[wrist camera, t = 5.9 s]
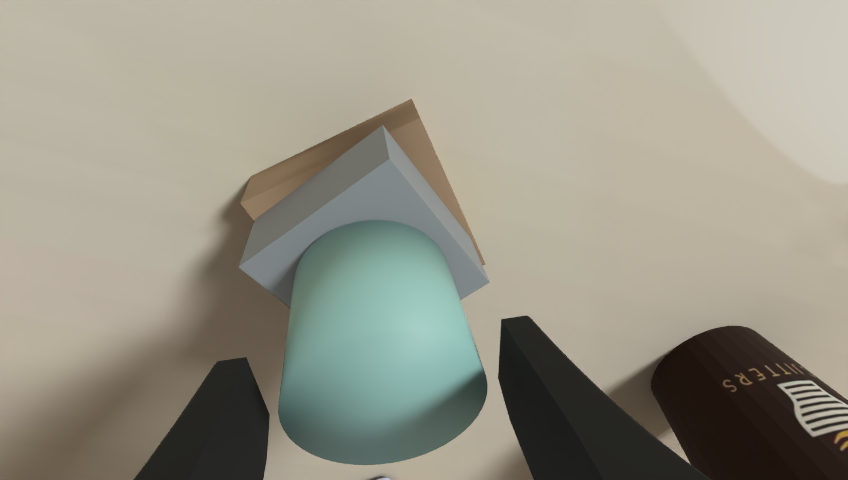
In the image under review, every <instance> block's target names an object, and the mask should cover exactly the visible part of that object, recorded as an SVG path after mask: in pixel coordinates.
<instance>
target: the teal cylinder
mask: <svg viewBox="0 0 848 480" xmlns="http://www.w3.org/2000/svg"><path fill="white" fill-rule="evenodd" d="M486 395H487V380H486V375H485V372H484V369H483V366H482V363H481V360H480V357H479V354H478V351H477V348H476V345H475V343H474V340H473V337H472V334H471V331H470V328H469V325H468V322H467V319H466V316H465V313H464V310H463V307H462V304H461V301H460V298H459V295H458V292H457V289H456V287H455V284H454V281H453V278H452V275H451V272H450V269H449V266H448V263H447V260H446V258H445V255H444V254H443V252H442V250H441V249H440V247H439V246H438V245H437V244H436V243H435V241H433V240H432V239H431V238H430V237H429V236H428V235H426V234H425V233H423V232H421V231H420V230H418V229H416V228H414V227H412V226H409V225H406V224H403V223H399V222H394V221H387V220H366V221H359V222H354V223H351V224H347V225H344V226H341V227H339V228H336V229H334V230H332V231H330V232H328V233H326V234H325V235H324V236H322V237H321V238H319V239H318V240H317V241H316V242H314V243H313V244H312V245H311V246H310V247H309V248H308V250H307V251H306V252H305V253H304V255H303V256H302V258H301V260H300V261H299V264H298V266H297V269H296V272H295V276H294V283H293V292H292V300H291V308H290V316H289V324H288V332H287V340H286V348H285V356H284V364H283V373H282V381H281V389H280V397H279V409H278V413H279V419H280V423H281V425H282V427H283V430H284V431H285V432H286V434H287V435H288V437H289V438H290V439H291V440H292V441H293V442H294V443H295V444H296V445H298V446H299V447H301V448H302V449H303V450H305V451H307V452H309V453H311V454H313V455H315V456H318V457H320V458H323V459H326V460H330V461H334V462H339V463H345V464H354V465H375V464H386V463H393V462H398V461H403V460H407V459H411V458H414V457H417V456H420V455H423V454H426V453H428V452H431V451H433V450H435V449H437V448H439V447H441V446H443V445H445V444H447V443H448V442H450V441H451V440H453V439H454V438H456V437H457V436H458V435H460V434H461V433H462V432H463V431H465V430H466V429H467V428H468V427H469V426H470V425H471V424H472V422H473V421H474V420H475V419H476V417H477V416H478V414H479V413H480V411H481V409H482V407H483V405H484V402H485V400H486Z"/></svg>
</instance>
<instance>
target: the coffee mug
mask: <svg viewBox="0 0 848 480" xmlns="http://www.w3.org/2000/svg"><path fill="white" fill-rule="evenodd" d="M651 388H652V391H653V394H654V396H655V398H656V399H657V401H658V403H659V405H660V407H661V409H662V411H663V413H664V415H665V416H666V418H667V420H668V422H669V424H670V426H671V428H672V430H673V432H674V433H675V435H676V437H677V439H678V441H679V443H680V445H681V447H682V448H683V450H684V452H685V454H686V456H687V458H688V460H689V462H690V464H691V465H692V466H693V467H694V468H696V469H697V470H698V471H700V472H701V473H703V474H704V475H705V476H707V477H708V478H709V479H711V480H848V400H847V399H845V398H844V397H843V396H841V395H840V394H839V393H837V392H836V391H835V390H833V389H832V388H830V387H829V386H828V385H826V384H825V383H824V382H822V381H821V380H820V379H818V378H817V377H816V376H814V375H813V374H812V373H810V372H809V371H808V370H806V369H805V368H804V367H802V366H801V365H800V364H798V363H797V362H796V361H794V360H793V359H792V358H790V357H789V356H788V355H786V354H785V353H784V352H782V351H781V350H780V349H778V348H777V347H776V346H774V345H773V344H772V343H770V342H769V341H768V340H766V339H765V338H764V337H762V336H761V335H760V334H758V333H757V332H756V331H754V330H752V329H750V328H748V327H742V326H726V327H720V328H716V329H712V330H709V331H706V332H704V333H701V334H699V335H697V336H694V337H693V338H691V339H689V340H687V341H685V342H684V343H682V344H681V345H679V346H678V347H677V348H675V349H674V350H673V351H672V352H671V353H669V354H668V355H667V356H666V357H665V358H664V359H663V361H662V362H661V363H660V364H659V365H658V367H657V369H656V371H655V372H654V375H653V378H652V382H651Z"/></svg>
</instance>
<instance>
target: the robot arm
mask: <svg viewBox="0 0 848 480" xmlns="http://www.w3.org/2000/svg"><path fill="white" fill-rule="evenodd" d="M498 379H499V383H500V386H501V390H502V394H503V397H504V401H505V404H506V408H507V411H508V415H509V418H510V421H511V424H512V426H513V429H514V431H515V434H516V436H517V439H518V441H519V444H520V446H521V449H522V451H523V454H524V456H525V459H526V461H527V464H528V466H529V469H530V471H531V473H532V476H533V478H534V480H711V479H709V478H708V477H707V476H705V475H704V474H703V473H701V472H700V471H698V470H697V469H696V468H694V467H693V466H692V465H690V464H689V463H688V462H686V461H685V460H684V459H682V458H681V457H680V456H678V455H677V454H676V453H675V452H673V451H672V450H671V449H669V448H668V447H667V446H666V445H664V444H663V443H662V442H660V441H659V440H658V439H657V438H656V437H654V436H653V435H652V434H651V433H649V432H648V431H647V430H646V429H645V428H643V427H642V426H641V425H640V424H639V423H637V422H636V421H635V420H634V419H633V418H632V417H631V416H629V415H628V414H627V413H626V412H625V411H624V410H623V409H621V408H620V407H619V406H618V405H617V404H616V403H615V402H613V401H612V400H611V399H610V398H609V397H608V396H607V395H606V394H605V393H604V392H603V391H602V390H600V389H599V388H598V387H597V386H596V385H595V384H594V383H593V382H592V381H591V380H590V379H589V378H588V377H587V376H586V375H585V374H584V373H583V372H582V371H581V370H580V369H579V368H578V367H577V366H576V365H575V364H574V363H573V362H572V361H571V360H570V359H569V358H568V357H567V356H566V355H565V354H564V353H563V352H562V351H561V350H560V349H559V348H558V347H557V346H556V345H555V344H554V343H553V342H552V341H551V340H550V339H549V337H548V336H547V335H546V334H545V333H544V332H543V331H542V330H541V329H540V328H539V327H538V326H537V324H536V323H535V322H534V321H533V320H532V319H531V318H530V317H528V316H521V317H514V318H507V319H502V320H501V338H500V356H499V373H498ZM268 432H269V412H268V410H267V407H266V405H265V402H264V400H263V398H262V395H261V393H260V390H259V388H258V385H257V383H256V380H255V378H254V375H253V373H252V371H251V368H250V366H249V363H248V361H247V358H246V357H245V358H238V359H231V360H225V361H218V362H217V363H216V364H215V365H214V366H213V368H212V369H211V371H210V372H209V374H208V375H207V377H206V378H205V380H204V381H203V383H202V384H201V386H200V387H199V389H198V390H197V392H196V393H195V395H194V396H193V398H192V399H191V401H190V402H189V404H188V405H187V406H186V408H185V409H184V411H183V412H182V414H181V415H180V417H179V418H178V420H177V421H176V422H175V424H174V425H173V427H172V428H171V429H170V431H169V432H168V434H167V435H166V436H165V438H164V439H163V441H162V442H161V443H160V445H159V446H158V448H157V449H156V450H155V452H154V453H153V455H152V456H151V457H150V459H149V460H148V461H147V463H146V464H145V466H144V467H143V468H142V470H141V471H140V472H139V473H138V475H137V476H136V477H135V479H134V480H263V477H264V472H265V466H266V459H267V446H268ZM377 480H390V479H389V478H380V479H377Z"/></svg>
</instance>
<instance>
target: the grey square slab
mask: <svg viewBox="0 0 848 480" xmlns="http://www.w3.org/2000/svg"><path fill="white" fill-rule="evenodd" d="M366 220H387V221H394V222H399V223H403V224H406V225H409V226H412V227H414V228H416V229H418V230H420V231H421V232H423V233H425V234H426V235H428V236H429V237H430V238H431V239H432V240H433V241H435V243H436V244H437V245H438V246H439V247H440V249H441V250H442V252H443V254H444V255H445V258H446V260H447V263H448V266H449V269H450V272H451V275H452V278H453V281H454V284H455V287H456V289H457V292H458V295H459V298H460V300H461V299H463V298H465V297H466V296H468V295H470V294H471V293H473V292H475V291H476V290H478V289H479V288H481V287H483V286H484V285H486V284H488V283H489V280H488V278H487V275H486V273H485V271H484V268H483V266H482V264H481V261H480V259H479V257H478V254H477V252H476V250H475V247H474V245H473V243H472V240H471V238H470V237H469V235H468V234H467V233H466V231H465V230H464V229H463V228H462V226H461V225H460V224H459V222H458V221H457V220H456V219H455V217H454V216H453V215H452V213H451V212H450V211H449V209H448V208H447V207H446V206H445V204H444V203H443V202H442V200H441V199H440V198H439V197H438V195H437V194H436V193H435V191H434V190H433V189H432V188H431V186H430V185H429V184H428V182H427V181H426V180H425V179H424V177H423V176H422V175H421V173H420V172H419V171H418V170H417V168H416V167H415V166H414V164H413V163H412V162H411V161H410V159H409V158H408V157H407V155H406V154H405V153H404V152H403V150H402V149H401V148H400V146H399V145H398V144H397V143H396V141H395V140H394V139H393V137H392V136H391V135H390V134H389V132H388V131H387V130H386V128H385V127H384V126H383V125H382V126H380V127H379V128H378V129H376V130H375V131H374V132H372V133H371V134H370V135H368V136H367V137H365V138H364V139H363V140H361V141H360V142H359V143H357V144H356V145H355V146H353V147H352V148H351V149H349V150H348V151H347V152H345V153H344V154H343V155H341V156H340V157H339V158H337V159H336V160H335V161H333V162H332V163H330V164H329V165H328V166H326V167H325V168H324V169H322V170H321V171H320V172H318V173H317V174H316V175H314V176H313V177H312V178H310V179H309V180H308V181H306V182H305V183H303V184H302V185H301V186H299V187H298V188H297V189H295V190H294V191H293V192H291V193H290V194H289V195H287V196H286V197H285V198H283V199H282V200H281V201H279V202H278V203H276V204H275V205H274V206H272V207H271V208H270V209H268V210H267V211H266V212H264V213H263V214H262V215H260V216H259V217H258V218H256V219H255V220H254V223H253V226H252V229H251V232H250V235H249V238H248V241H247V243H246V246H245V249H244V252H243V255H242V258H241V261H240V264H239V268H240V269H241V270H243V271H244V272H245V273H246V274H248V275H249V276H250V277H251V278H253V279H254V280H255V281H256V282H258V283H259V284H260V285H261V286H263V287H264V288H265V289H267V290H268V291H269V292H270V293H272V294H273V295H274V296H275V297H277V298H278V299H279V300H280V301H282V302H283V303H284V304H285V305H287V306H288V307H289V308H291V300H292V292H293V283H294V276H295V272H296V269H297V266H298V264H299V261H300V260H301V258H302V256H303V255H304V253H305V252H306V251H307V250H308V248H309V247H310V246H311V245H312V244H313V243H314V242H316V241H317V240H318V239H319V238H321V237H322V236H324V235H325V234H326V233H328V232H330V231H332V230H334V229H336V228H339V227H341V226H344V225H347V224H351V223H354V222H359V221H366Z"/></svg>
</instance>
